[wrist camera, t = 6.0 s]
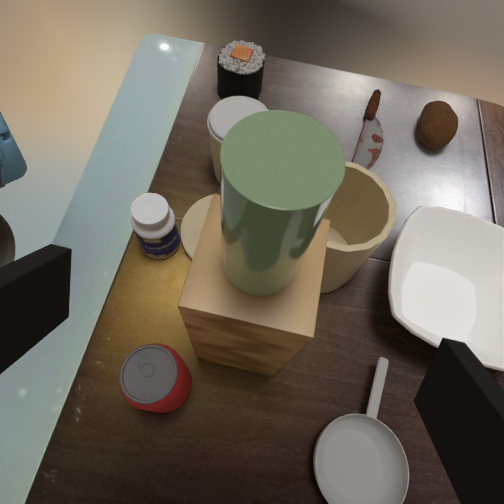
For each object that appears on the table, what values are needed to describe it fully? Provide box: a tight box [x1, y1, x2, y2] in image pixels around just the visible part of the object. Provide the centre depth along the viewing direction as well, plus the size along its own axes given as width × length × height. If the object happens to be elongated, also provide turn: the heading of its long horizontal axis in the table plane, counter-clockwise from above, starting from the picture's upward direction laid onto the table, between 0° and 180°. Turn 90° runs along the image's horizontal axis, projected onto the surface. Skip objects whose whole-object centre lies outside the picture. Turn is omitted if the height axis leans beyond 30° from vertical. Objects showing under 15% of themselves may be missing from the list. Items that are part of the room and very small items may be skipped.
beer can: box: [119, 343, 192, 413], centre depth 40 cm, size 7×7×12 cm
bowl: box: [388, 206, 504, 371], centre depth 50 cm, size 21×21×9 cm
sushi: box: [217, 40, 266, 100], centre depth 66 cm, size 8×8×8 cm
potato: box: [418, 101, 458, 148], centre depth 65 cm, size 7×10×6 cm
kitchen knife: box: [352, 90, 383, 170], centre depth 66 cm, size 21×2×5 cm
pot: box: [320, 161, 395, 293], centre depth 49 cm, size 13×13×14 cm
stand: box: [178, 194, 330, 376], centre depth 39 cm, size 10×10×24 cm
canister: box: [220, 110, 345, 296], centre depth 22 cm, size 6×6×12 cm
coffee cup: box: [207, 96, 269, 183], centre depth 55 cm, size 9×9×12 cm
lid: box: [180, 187, 220, 259], centre depth 51 cm, size 14×14×11 cm
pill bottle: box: [131, 193, 180, 259], centre depth 50 cm, size 6×6×10 cm
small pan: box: [313, 357, 409, 504], centre depth 43 cm, size 11×18×4 cm, turn 159°
